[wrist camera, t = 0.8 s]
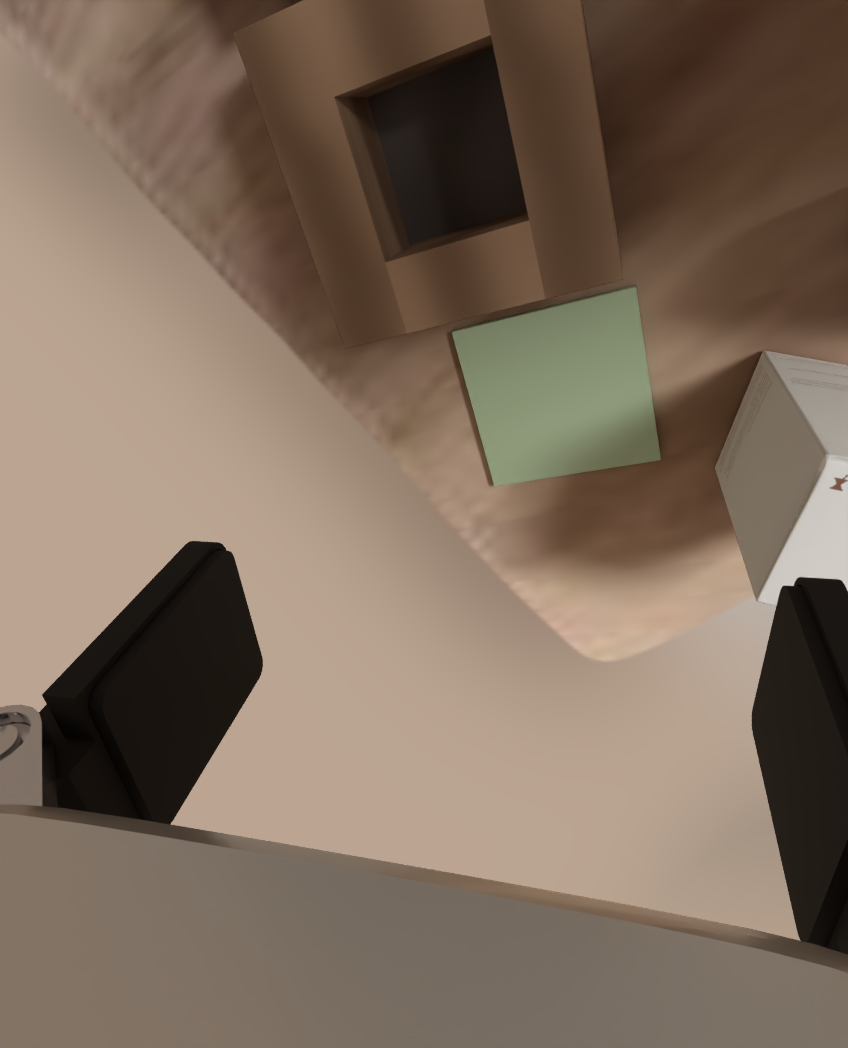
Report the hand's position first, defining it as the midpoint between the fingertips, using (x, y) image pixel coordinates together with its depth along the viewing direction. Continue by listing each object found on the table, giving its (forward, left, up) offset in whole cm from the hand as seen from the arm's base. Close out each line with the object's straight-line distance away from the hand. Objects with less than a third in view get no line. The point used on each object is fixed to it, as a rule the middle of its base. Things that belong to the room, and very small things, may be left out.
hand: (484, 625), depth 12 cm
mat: (+2, +6, -29) cm, 29 cm away
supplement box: (-11, +11, -29) cm, 33 cm away
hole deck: (+4, -7, -29) cm, 30 cm away
